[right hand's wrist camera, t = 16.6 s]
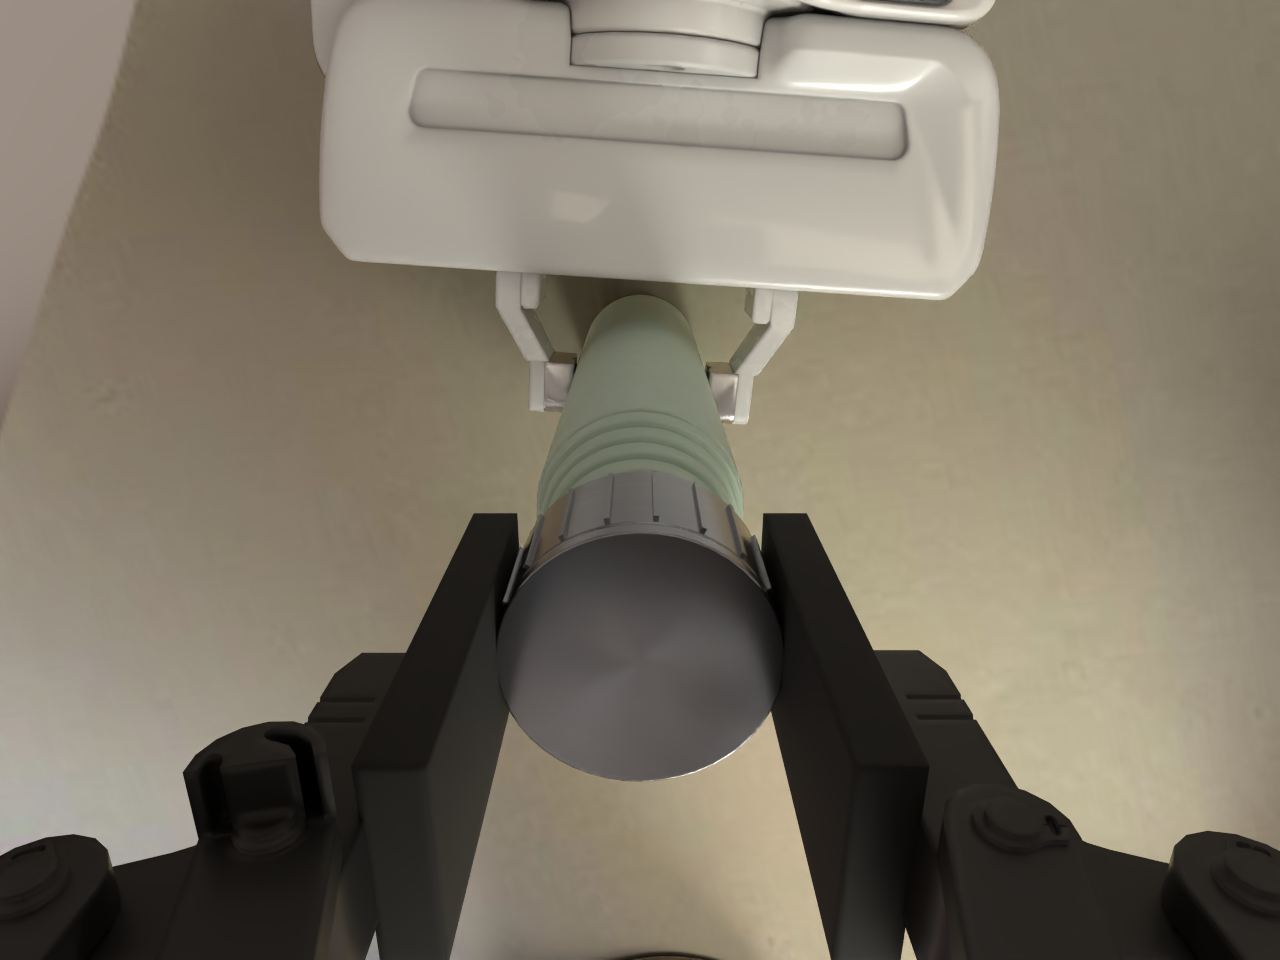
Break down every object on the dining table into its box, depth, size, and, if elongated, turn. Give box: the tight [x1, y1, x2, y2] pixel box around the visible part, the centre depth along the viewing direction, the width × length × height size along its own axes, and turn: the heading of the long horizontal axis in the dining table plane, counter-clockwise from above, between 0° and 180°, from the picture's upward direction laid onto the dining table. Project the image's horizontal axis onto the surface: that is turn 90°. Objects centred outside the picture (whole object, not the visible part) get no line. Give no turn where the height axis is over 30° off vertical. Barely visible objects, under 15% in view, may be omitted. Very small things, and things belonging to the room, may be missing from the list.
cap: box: [496, 471, 784, 782], centre depth 14 cm, size 4×4×3 cm
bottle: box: [537, 295, 743, 521], centre depth 24 cm, size 4×4×23 cm
